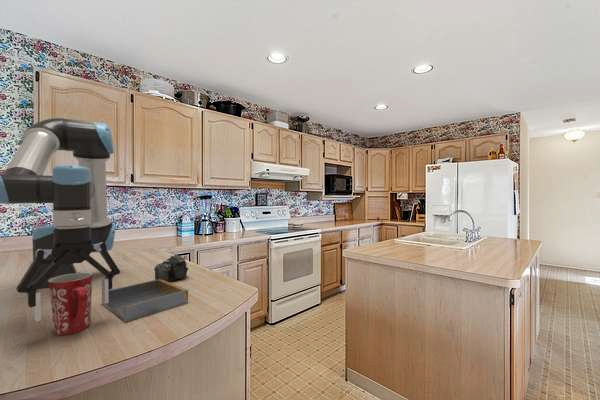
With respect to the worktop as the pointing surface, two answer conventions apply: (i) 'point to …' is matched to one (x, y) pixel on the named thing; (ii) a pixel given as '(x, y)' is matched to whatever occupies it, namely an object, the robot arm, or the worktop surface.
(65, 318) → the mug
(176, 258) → the camera
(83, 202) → the robot arm
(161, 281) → the tray
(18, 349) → the worktop surface
